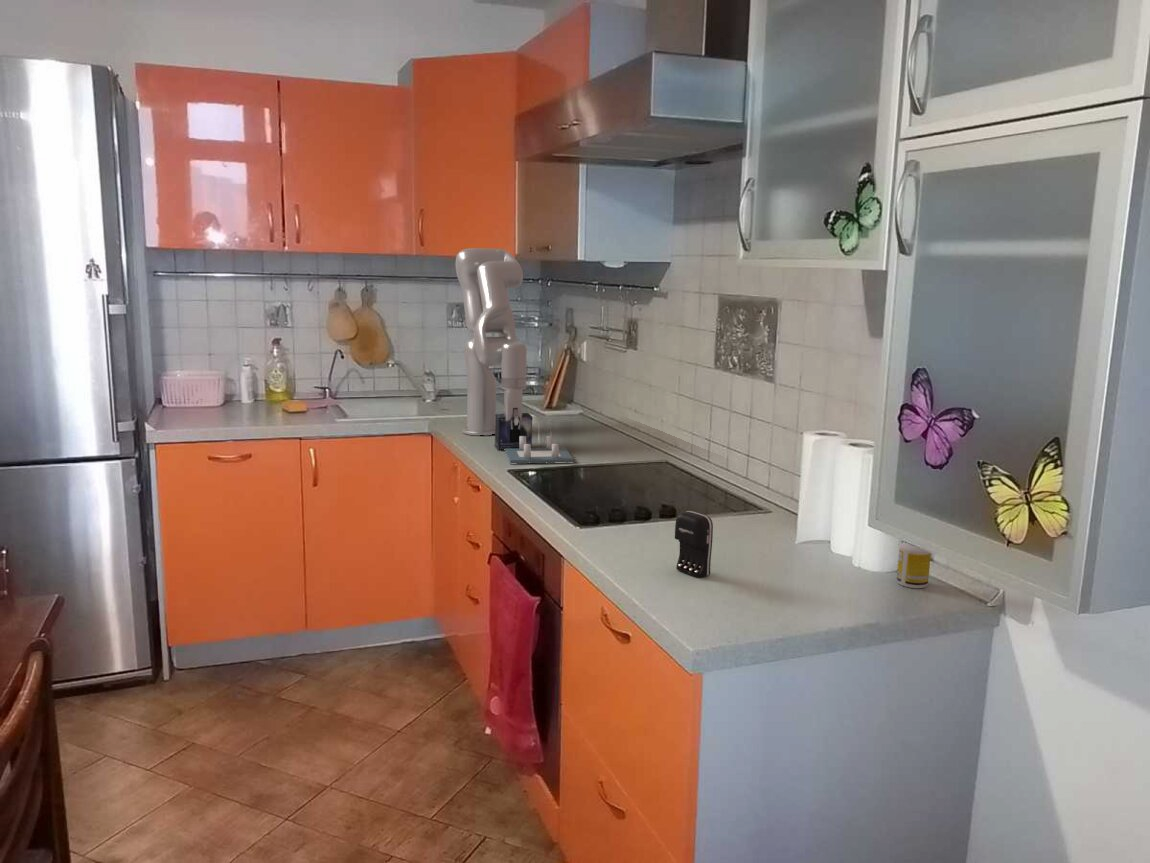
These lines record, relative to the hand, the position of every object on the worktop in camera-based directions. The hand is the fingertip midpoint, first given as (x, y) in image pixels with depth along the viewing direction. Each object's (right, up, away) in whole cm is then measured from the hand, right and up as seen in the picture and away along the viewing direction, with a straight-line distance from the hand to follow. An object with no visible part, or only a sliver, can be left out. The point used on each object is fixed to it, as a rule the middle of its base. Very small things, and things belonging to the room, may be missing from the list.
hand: (513, 439), depth 277 cm
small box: (0, -3, +1) cm, 3 cm away
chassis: (+8, -5, -12) cm, 16 cm away
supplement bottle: (+81, -26, -110) cm, 139 cm away
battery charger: (+40, -24, -107) cm, 117 cm away
